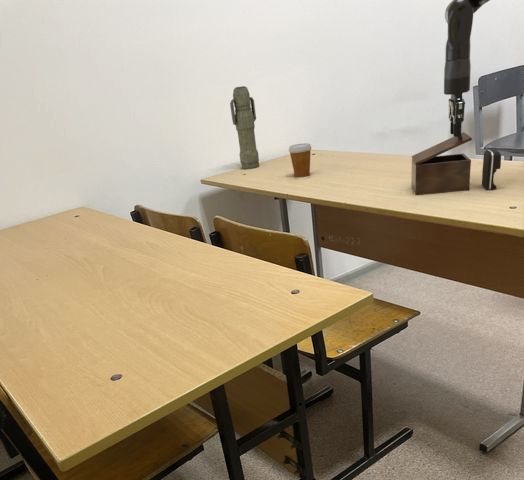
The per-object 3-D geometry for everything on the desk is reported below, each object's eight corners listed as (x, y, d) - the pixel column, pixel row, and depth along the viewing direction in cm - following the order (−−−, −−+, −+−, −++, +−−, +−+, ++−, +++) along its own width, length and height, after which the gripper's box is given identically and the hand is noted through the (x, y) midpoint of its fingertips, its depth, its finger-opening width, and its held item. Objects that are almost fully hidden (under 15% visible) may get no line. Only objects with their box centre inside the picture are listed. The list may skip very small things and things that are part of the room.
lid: (464, 134, 174) (460, 119, 172) (472, 139, 163) (467, 124, 162) (412, 158, 179) (407, 144, 177) (416, 165, 169) (411, 150, 167)
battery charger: (499, 189, 167) (503, 151, 162) (487, 190, 168) (490, 153, 162) (493, 184, 173) (496, 147, 168) (480, 185, 174) (483, 149, 168)
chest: (462, 182, 181) (463, 153, 176) (469, 190, 171) (471, 160, 166) (411, 186, 184) (411, 158, 179) (415, 195, 174) (415, 165, 169)
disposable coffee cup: (301, 172, 230) (299, 143, 224) (318, 173, 223) (316, 143, 217) (286, 177, 224) (283, 147, 218) (303, 178, 218) (300, 147, 212)
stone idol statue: (265, 165, 255) (256, 84, 238) (246, 170, 249) (235, 88, 232) (254, 164, 261) (244, 85, 244) (235, 169, 255) (224, 89, 238)
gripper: (475, 75, 154) (472, 136, 162) (465, 72, 166) (463, 130, 174) (448, 79, 155) (447, 140, 163) (440, 76, 168) (439, 133, 176)
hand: (455, 134), depth 169 cm, fingers closed on lid, 5 cm apart
